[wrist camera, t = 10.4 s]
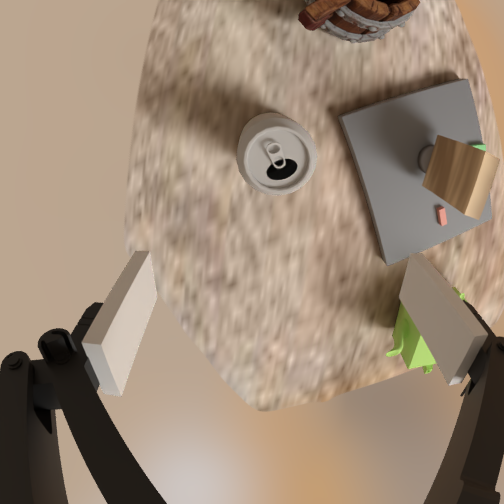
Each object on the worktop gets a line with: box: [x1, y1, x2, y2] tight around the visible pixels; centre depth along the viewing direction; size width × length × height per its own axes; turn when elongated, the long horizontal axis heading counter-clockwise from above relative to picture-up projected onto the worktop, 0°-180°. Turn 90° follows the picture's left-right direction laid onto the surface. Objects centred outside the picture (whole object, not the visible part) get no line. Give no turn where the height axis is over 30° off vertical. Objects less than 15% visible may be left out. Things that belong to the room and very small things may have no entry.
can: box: [236, 112, 317, 196], centre depth 33 cm, size 8×8×12 cm
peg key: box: [418, 135, 500, 220], centre depth 32 cm, size 11×7×12 cm, turn 78°
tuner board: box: [338, 79, 492, 266], centre depth 38 cm, size 22×20×3 cm
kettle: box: [386, 287, 467, 374], centre depth 45 cm, size 15×14×11 cm
